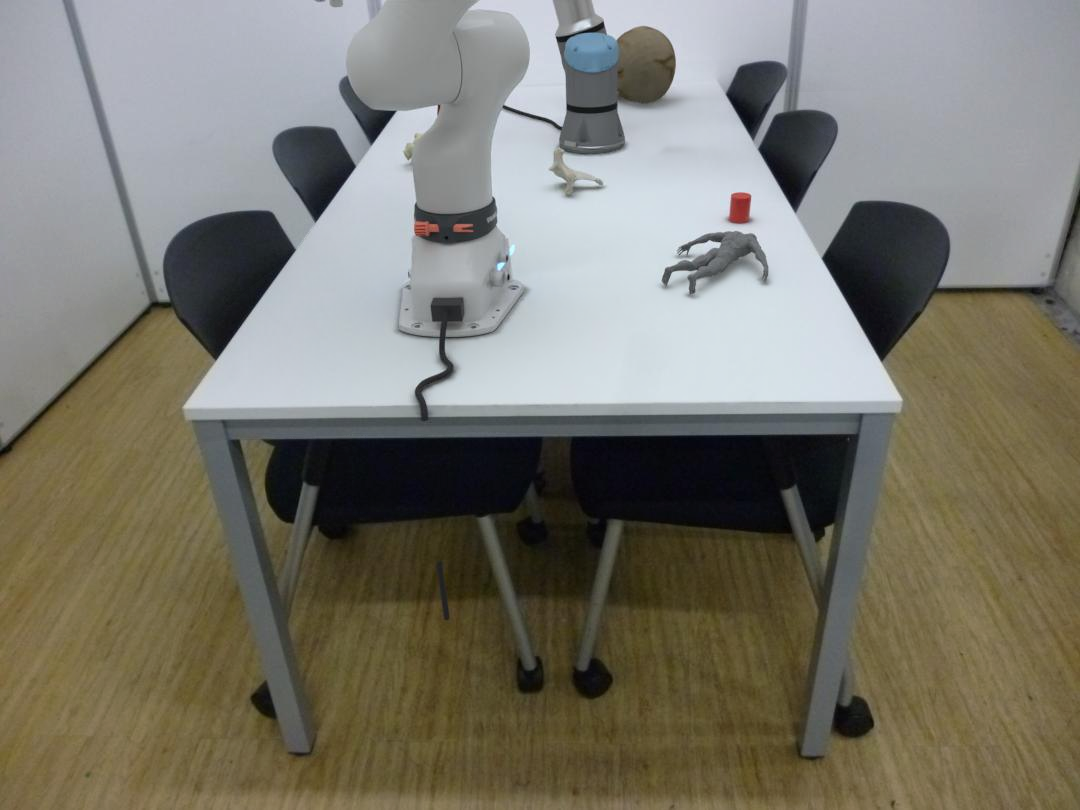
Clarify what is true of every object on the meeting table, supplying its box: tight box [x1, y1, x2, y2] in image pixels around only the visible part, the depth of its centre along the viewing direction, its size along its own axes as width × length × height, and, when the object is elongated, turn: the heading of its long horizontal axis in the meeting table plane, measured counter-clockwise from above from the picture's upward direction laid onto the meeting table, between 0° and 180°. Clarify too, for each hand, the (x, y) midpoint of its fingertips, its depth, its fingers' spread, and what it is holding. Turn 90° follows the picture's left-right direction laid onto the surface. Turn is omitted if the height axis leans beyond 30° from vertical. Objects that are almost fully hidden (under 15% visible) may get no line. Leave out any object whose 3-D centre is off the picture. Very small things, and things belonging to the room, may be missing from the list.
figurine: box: [661, 230, 769, 295], centre depth 130 cm, size 17×4×20 cm
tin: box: [728, 191, 752, 224], centre depth 149 cm, size 4×4×4 cm
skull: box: [616, 25, 677, 104], centre depth 227 cm, size 16×22×25 cm
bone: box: [547, 147, 604, 196], centre depth 167 cm, size 10×6×10 cm
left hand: (328, 4), depth 139 cm, fingers open, 8 cm apart
